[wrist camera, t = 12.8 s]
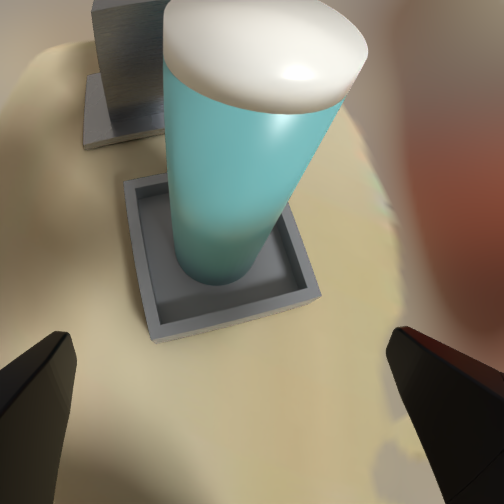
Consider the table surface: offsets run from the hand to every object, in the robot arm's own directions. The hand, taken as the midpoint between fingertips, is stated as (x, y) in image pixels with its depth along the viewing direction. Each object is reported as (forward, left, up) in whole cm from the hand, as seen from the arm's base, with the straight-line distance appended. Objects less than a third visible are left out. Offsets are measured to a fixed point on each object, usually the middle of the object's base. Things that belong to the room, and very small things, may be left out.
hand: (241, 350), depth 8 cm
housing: (+19, -1, -9) cm, 21 cm away
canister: (+6, -1, -8) cm, 10 cm away
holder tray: (+6, -1, -9) cm, 11 cm away
